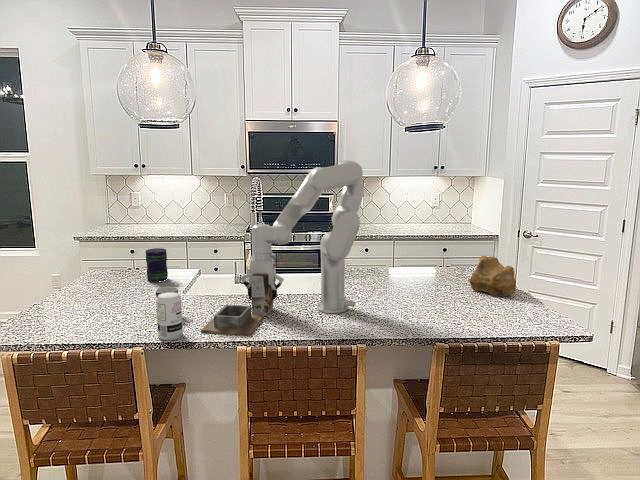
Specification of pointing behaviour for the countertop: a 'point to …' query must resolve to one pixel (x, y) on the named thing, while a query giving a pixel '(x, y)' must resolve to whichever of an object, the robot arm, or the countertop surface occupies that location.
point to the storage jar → (156, 264)
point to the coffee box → (261, 295)
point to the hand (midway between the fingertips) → (262, 298)
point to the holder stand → (233, 321)
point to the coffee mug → (166, 290)
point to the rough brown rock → (493, 277)
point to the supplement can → (169, 316)
